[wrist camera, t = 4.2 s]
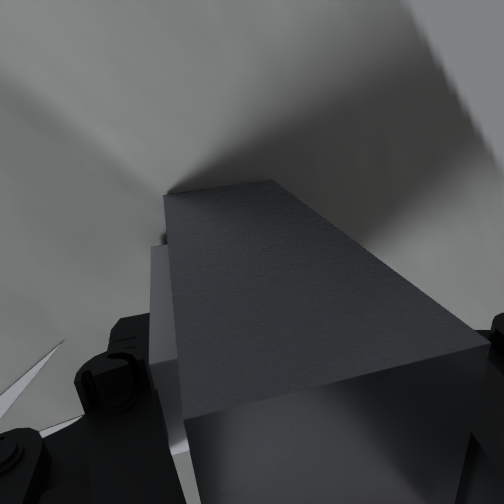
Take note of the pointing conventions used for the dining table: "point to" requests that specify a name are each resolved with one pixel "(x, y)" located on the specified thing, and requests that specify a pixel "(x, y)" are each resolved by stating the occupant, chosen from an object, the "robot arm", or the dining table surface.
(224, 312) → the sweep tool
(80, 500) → the robot arm
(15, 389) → the scissors
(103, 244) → the dining table surface
